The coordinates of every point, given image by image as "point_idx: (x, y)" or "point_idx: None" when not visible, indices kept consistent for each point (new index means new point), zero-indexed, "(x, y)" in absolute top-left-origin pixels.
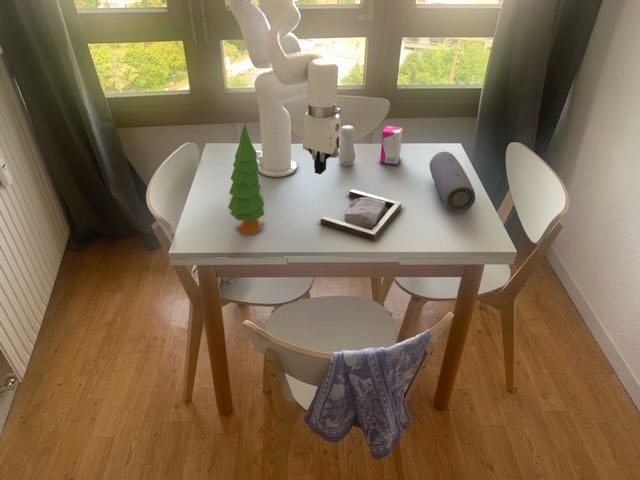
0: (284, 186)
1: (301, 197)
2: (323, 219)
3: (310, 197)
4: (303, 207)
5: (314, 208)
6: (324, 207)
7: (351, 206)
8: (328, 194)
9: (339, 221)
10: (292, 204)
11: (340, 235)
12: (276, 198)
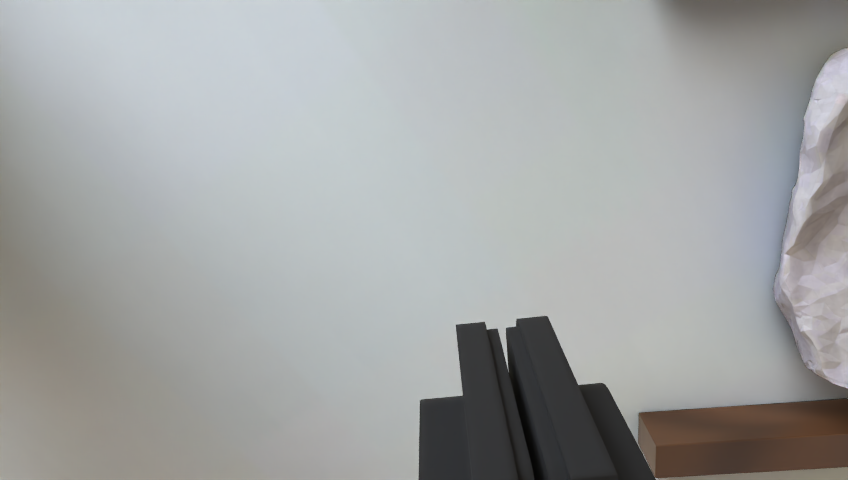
0: (60, 168)
1: (298, 233)
2: (679, 476)
3: (355, 191)
4: (408, 339)
5: (484, 307)
6: (542, 254)
7: (819, 229)
8: (451, 52)
9: (803, 443)
10: (316, 349)
11: (815, 470)
12: (166, 348)
